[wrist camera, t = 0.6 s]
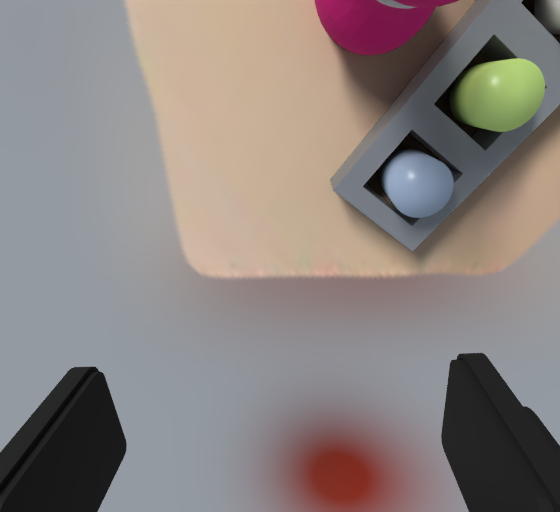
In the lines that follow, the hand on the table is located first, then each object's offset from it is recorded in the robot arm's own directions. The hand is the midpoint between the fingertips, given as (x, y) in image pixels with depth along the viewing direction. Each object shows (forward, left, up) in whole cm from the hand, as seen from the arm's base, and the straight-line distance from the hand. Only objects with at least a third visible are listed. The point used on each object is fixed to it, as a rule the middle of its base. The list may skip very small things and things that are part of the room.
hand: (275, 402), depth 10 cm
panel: (-14, +6, -23) cm, 27 cm away
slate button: (-7, +6, -21) cm, 23 cm away
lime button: (-14, +6, -21) cm, 26 cm away
